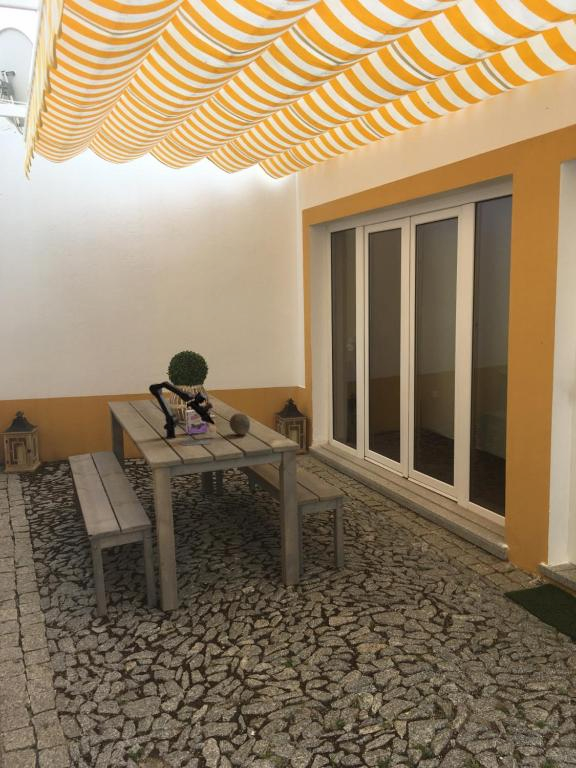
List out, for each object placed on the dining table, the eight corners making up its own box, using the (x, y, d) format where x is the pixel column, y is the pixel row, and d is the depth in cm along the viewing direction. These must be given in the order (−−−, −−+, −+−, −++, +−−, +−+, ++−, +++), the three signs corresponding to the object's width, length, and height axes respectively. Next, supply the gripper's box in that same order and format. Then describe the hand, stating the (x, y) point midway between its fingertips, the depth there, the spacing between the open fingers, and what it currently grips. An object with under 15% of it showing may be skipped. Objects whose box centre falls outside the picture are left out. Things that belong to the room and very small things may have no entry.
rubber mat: (181, 441, 429) (181, 440, 429) (208, 439, 432) (208, 438, 432) (182, 445, 415) (182, 445, 415) (210, 444, 419) (210, 443, 419)
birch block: (209, 432, 438) (208, 415, 436) (215, 432, 439) (215, 415, 437) (209, 434, 434) (209, 416, 432) (216, 433, 434) (215, 416, 433)
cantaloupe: (250, 432, 451) (249, 411, 449) (250, 436, 437) (249, 415, 435) (230, 433, 450) (229, 412, 448) (229, 437, 436) (228, 415, 434)
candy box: (187, 434, 447) (186, 411, 445) (185, 433, 452) (184, 410, 450) (207, 432, 452) (206, 409, 450) (205, 431, 458) (204, 408, 455)
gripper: (205, 401, 423) (222, 417, 426) (205, 396, 441) (222, 411, 444) (194, 413, 423) (211, 429, 426) (194, 408, 442) (211, 423, 445)
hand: (214, 423), depth 435 cm, fingers closed on birch block, 5 cm apart
